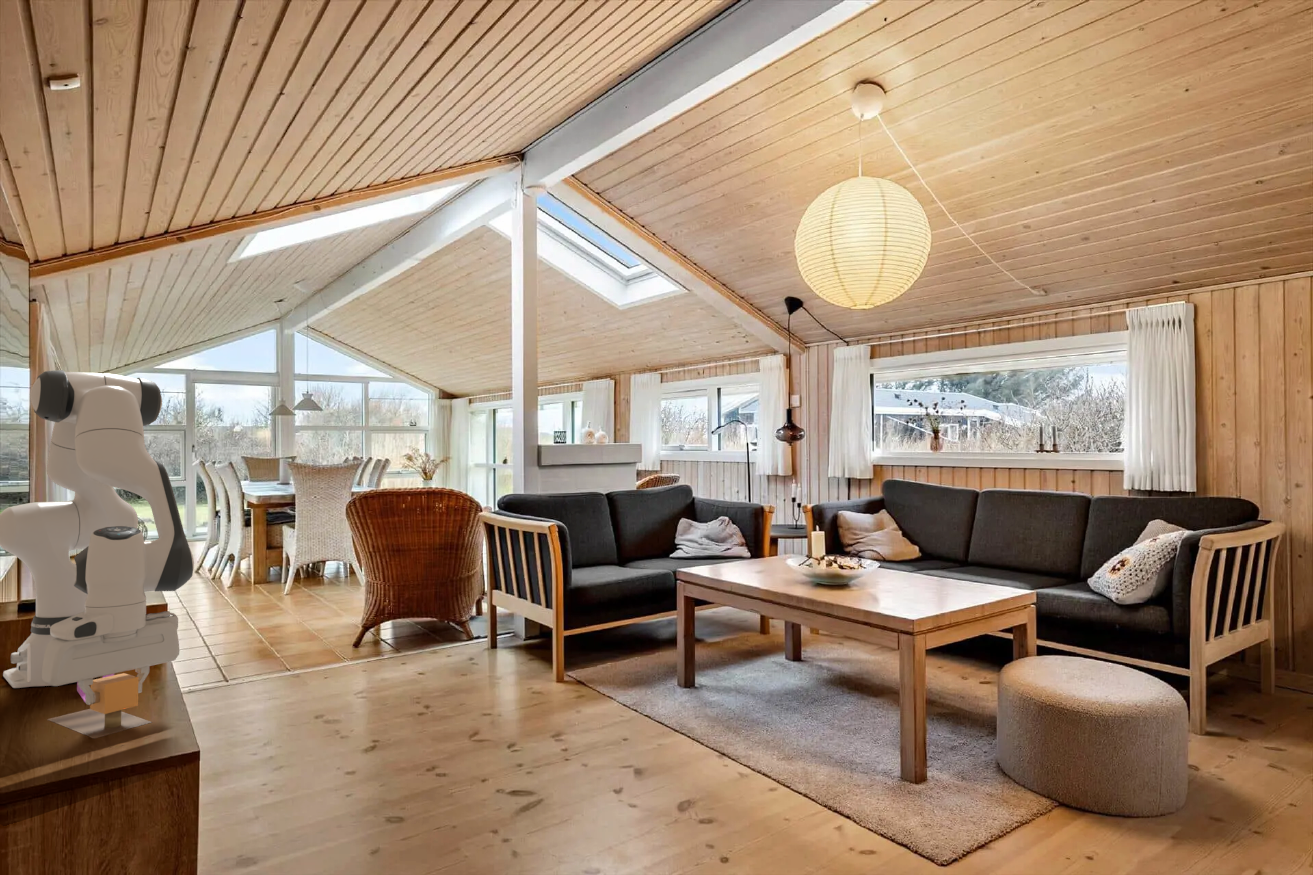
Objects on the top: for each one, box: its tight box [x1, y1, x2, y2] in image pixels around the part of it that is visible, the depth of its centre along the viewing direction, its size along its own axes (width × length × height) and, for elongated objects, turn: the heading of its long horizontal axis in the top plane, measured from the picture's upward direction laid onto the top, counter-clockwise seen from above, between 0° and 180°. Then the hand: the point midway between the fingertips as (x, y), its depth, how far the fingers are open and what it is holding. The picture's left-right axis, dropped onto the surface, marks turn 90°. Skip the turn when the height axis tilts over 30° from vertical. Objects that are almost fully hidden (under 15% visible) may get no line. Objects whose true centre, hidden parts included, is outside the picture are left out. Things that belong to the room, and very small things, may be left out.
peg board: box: [46, 708, 153, 739], centre depth 134 cm, size 18×9×5 cm, turn 59°
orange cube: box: [89, 672, 139, 714], centre depth 132 cm, size 5×5×5 cm
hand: (114, 698), depth 132 cm, fingers closed on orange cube, 5 cm apart
